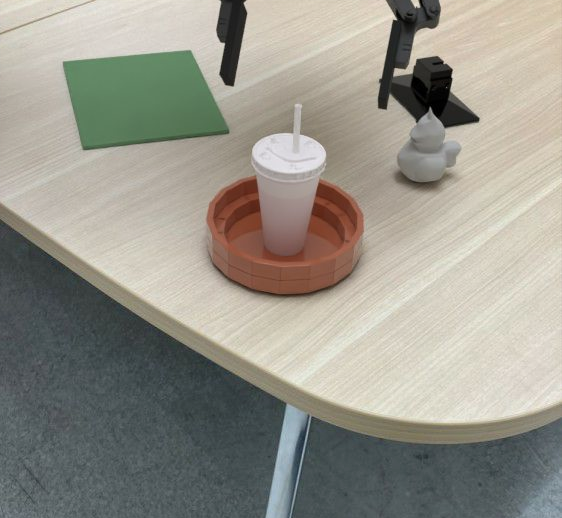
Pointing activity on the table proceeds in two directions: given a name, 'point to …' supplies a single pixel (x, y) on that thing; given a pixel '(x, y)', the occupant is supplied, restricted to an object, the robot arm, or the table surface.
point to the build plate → (431, 93)
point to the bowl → (284, 269)
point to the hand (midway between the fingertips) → (303, 92)
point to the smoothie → (287, 186)
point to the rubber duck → (427, 151)
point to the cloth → (141, 99)
